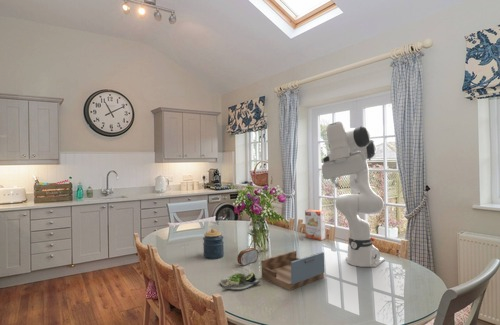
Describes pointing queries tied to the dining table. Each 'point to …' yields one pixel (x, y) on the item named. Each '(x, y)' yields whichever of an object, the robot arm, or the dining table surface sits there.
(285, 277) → the wooden tray box
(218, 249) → the canister
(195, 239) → the dining table surface
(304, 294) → the dining table surface
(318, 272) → the panel
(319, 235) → the cracker box
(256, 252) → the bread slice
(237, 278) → the salad plate
